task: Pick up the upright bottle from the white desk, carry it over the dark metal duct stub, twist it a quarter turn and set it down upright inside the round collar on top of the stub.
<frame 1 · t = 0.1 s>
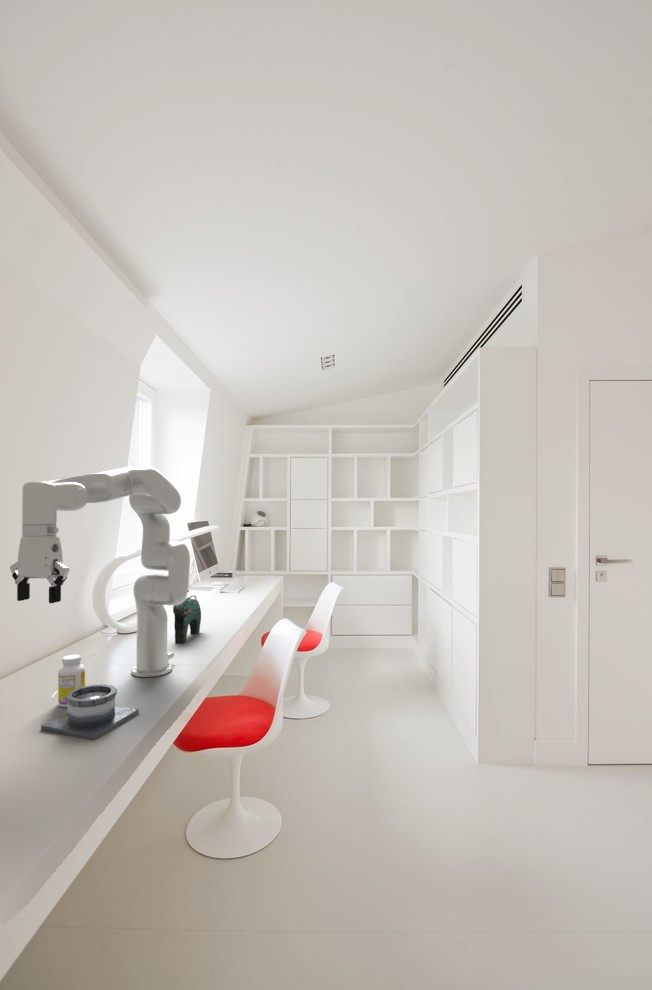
hand: (38, 601, 131), 31 cm above the table, tool pointing down, fingers open, 9 cm apart
duct stub: (91, 721, 134), on the table
green elephant figurine: (186, 638, 215), on the table
supplement bottle: (71, 704, 146), on the table
picture light: (64, 691, 157), on the table
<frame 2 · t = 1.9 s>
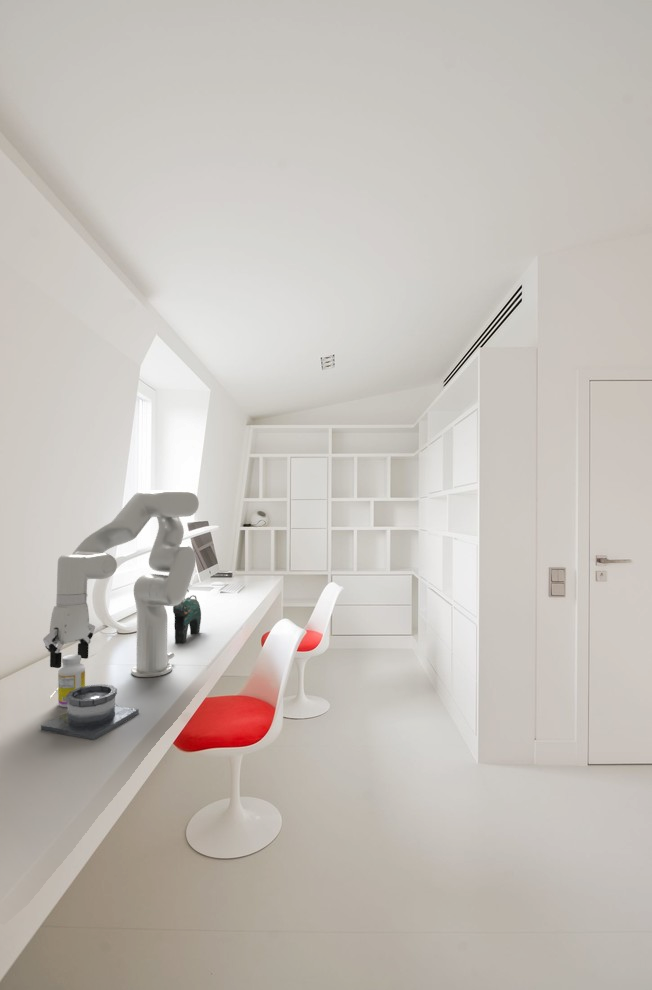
hand: (69, 662, 146), 11 cm above the table, tool pointing down, fingers open, 9 cm apart
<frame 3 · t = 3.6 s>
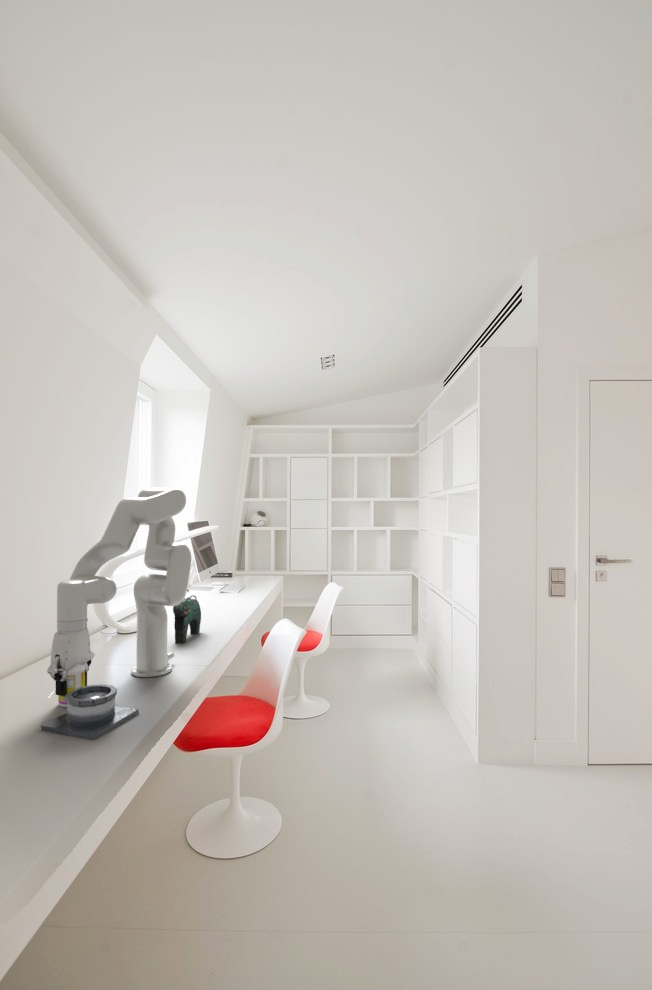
hand: (71, 689, 146), 4 cm above the table, tool pointing down, fingers closed on supplement bottle, 6 cm apart
supplement bottle: (71, 704, 146), on the table, touching gripper
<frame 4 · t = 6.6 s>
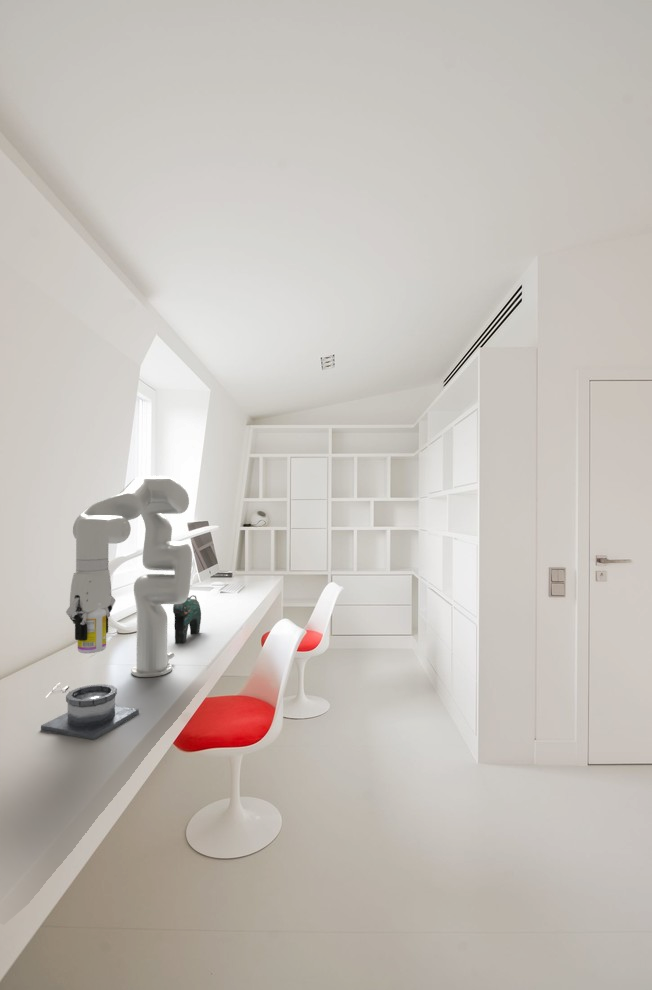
hand: (91, 635, 135), 22 cm above the table, tool pointing down, fingers closed on supplement bottle, 6 cm apart
supplement bottle: (91, 651, 135), point 18 cm above the table, touching gripper
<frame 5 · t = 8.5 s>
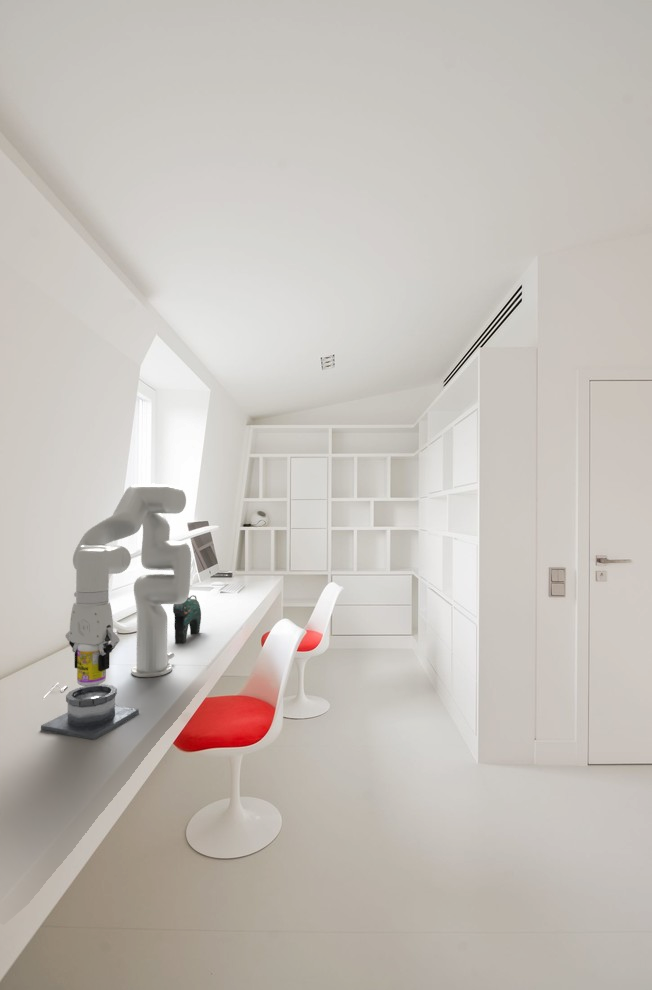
hand: (91, 667, 134), 14 cm above the table, tool pointing down, fingers closed on supplement bottle, 6 cm apart
supplement bottle: (91, 683, 134), point 10 cm above the table, touching gripper
when the fingers open (12 cm above the table, at t = 9.8 s): supplement bottle drops 2 cm, resting on duct stub.
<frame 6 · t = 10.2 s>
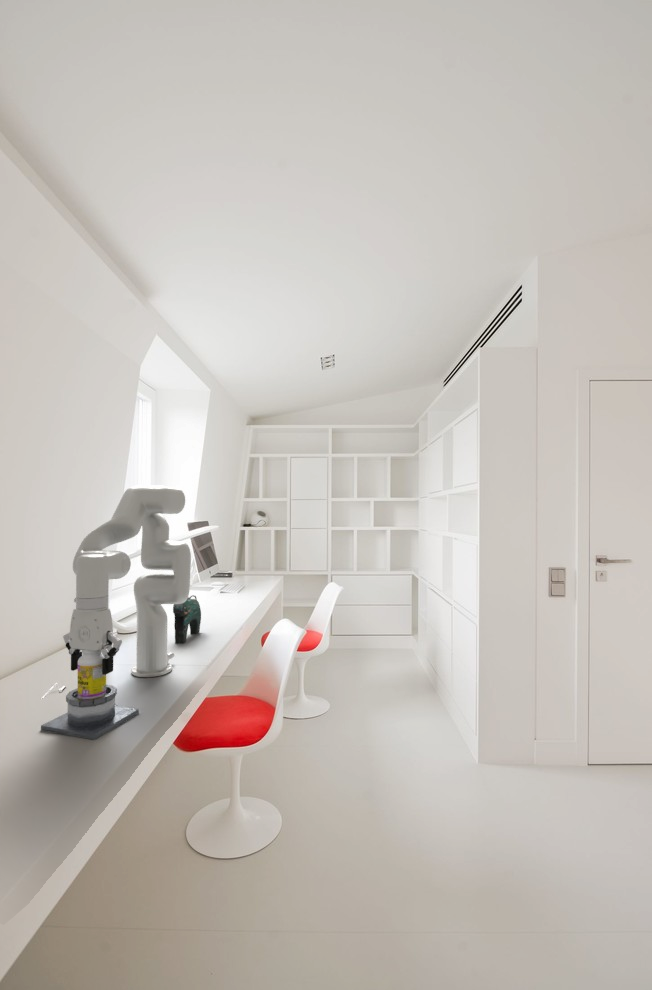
hand: (92, 670, 134), 13 cm above the table, tool pointing down, fingers open, 9 cm apart
supplement bottle: (92, 697, 134), point 6 cm above the table, touching duct stub
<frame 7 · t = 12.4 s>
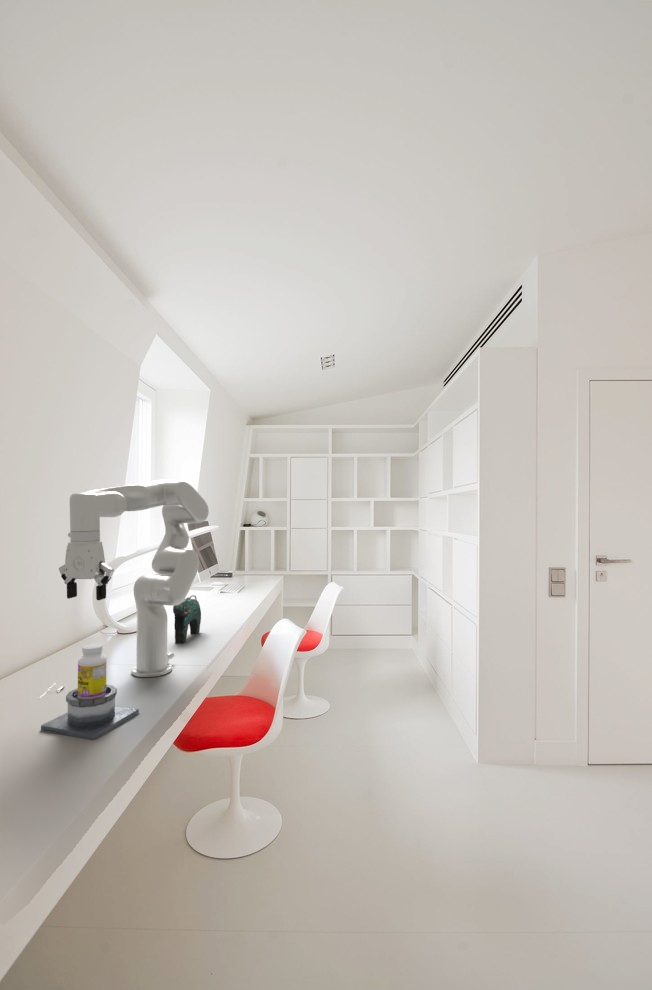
hand: (86, 598, 148), 29 cm above the table, tool pointing down, fingers open, 9 cm apart
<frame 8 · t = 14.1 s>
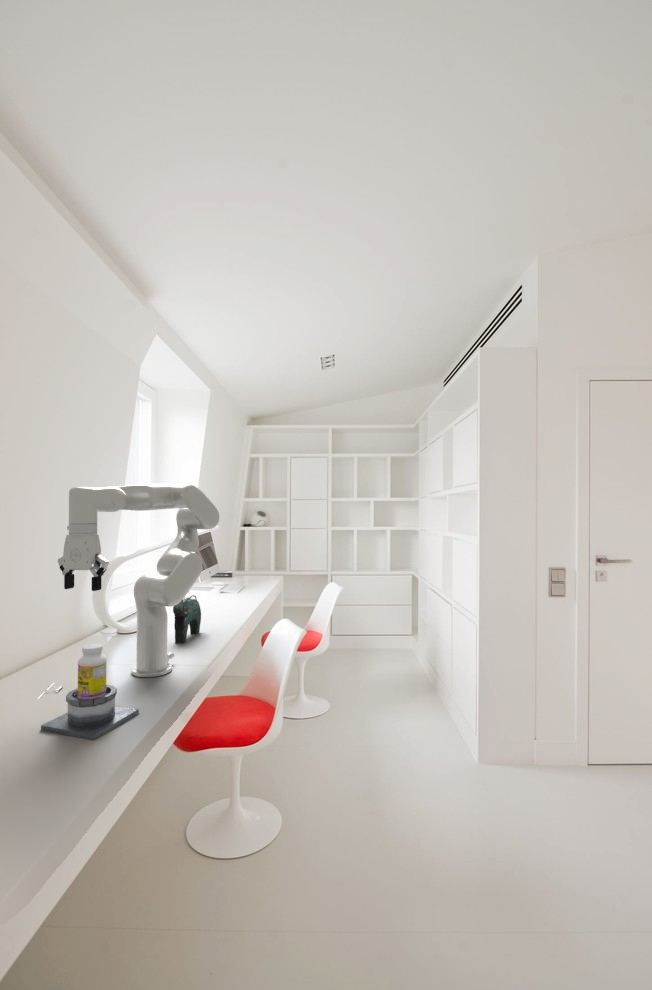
hand: (82, 589, 153), 30 cm above the table, tool pointing down, fingers open, 9 cm apart
at the end: supplement bottle 0.2 cm off-centre on the duct stub, point 6.0 cm above the duct stub's base; supplement bottle tilted 0°; the gripper is holding nothing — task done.
